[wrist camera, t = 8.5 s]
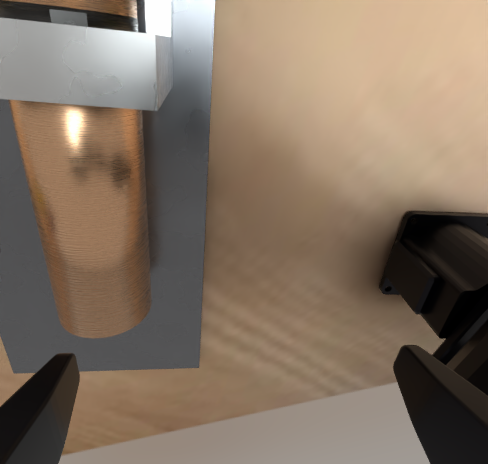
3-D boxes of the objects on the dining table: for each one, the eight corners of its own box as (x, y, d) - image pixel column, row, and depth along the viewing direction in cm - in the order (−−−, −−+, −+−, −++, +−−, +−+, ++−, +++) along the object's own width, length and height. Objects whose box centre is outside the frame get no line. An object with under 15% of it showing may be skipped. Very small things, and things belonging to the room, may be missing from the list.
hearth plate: (219, -111, 13) (220, -119, 13) (199, 359, 26) (198, 367, 26) (-163, -177, 11) (-186, -191, 11) (19, 363, 24) (13, 373, 24)
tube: (-28, -108, 11) (-75, -176, 8) (122, -73, 13) (145, -114, 10) (58, 287, 20) (57, 351, 16) (143, 273, 22) (160, 326, 18)
